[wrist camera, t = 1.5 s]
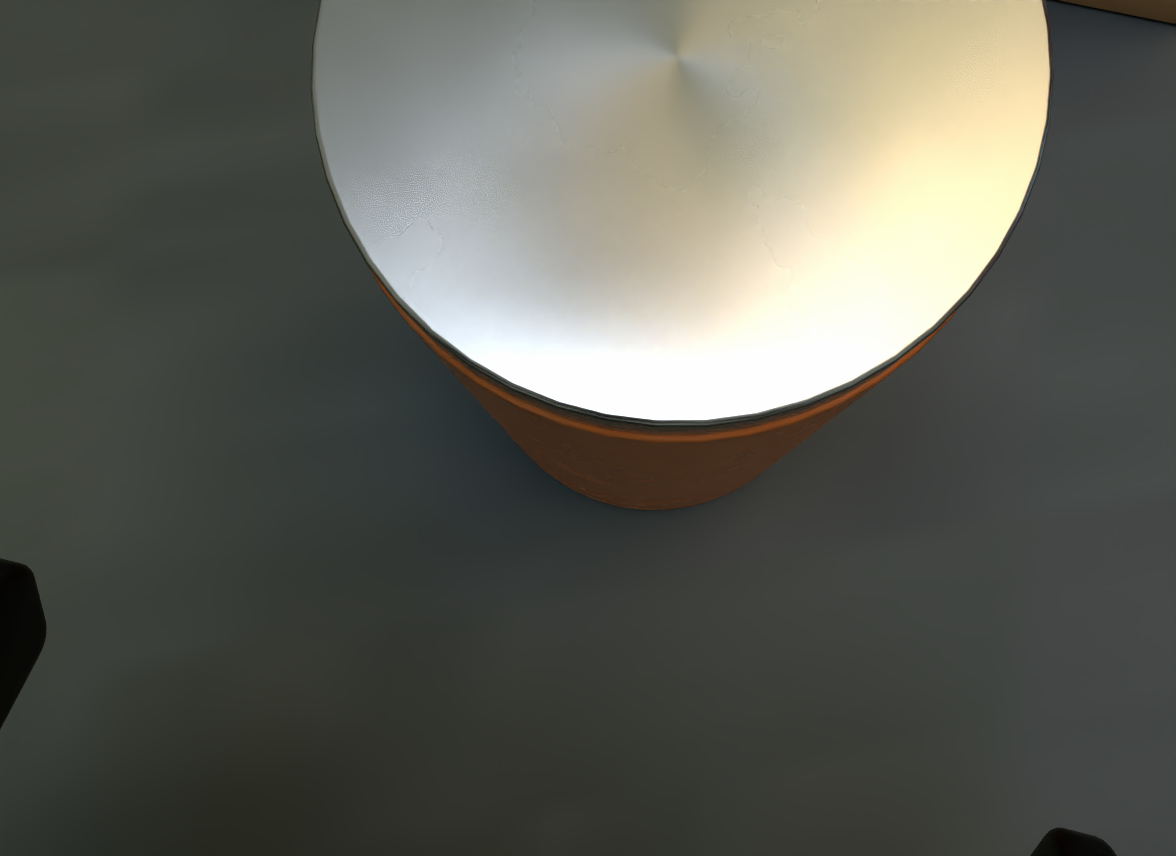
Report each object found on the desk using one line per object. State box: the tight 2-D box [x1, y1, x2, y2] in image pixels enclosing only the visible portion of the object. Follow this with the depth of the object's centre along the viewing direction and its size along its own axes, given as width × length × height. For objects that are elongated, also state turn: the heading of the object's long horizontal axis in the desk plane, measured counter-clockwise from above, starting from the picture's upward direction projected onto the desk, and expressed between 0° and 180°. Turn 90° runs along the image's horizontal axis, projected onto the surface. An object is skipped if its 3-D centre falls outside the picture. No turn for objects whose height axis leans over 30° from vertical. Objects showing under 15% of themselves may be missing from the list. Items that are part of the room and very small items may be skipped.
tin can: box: [311, 0, 1054, 510], centre depth 16 cm, size 7×7×13 cm
